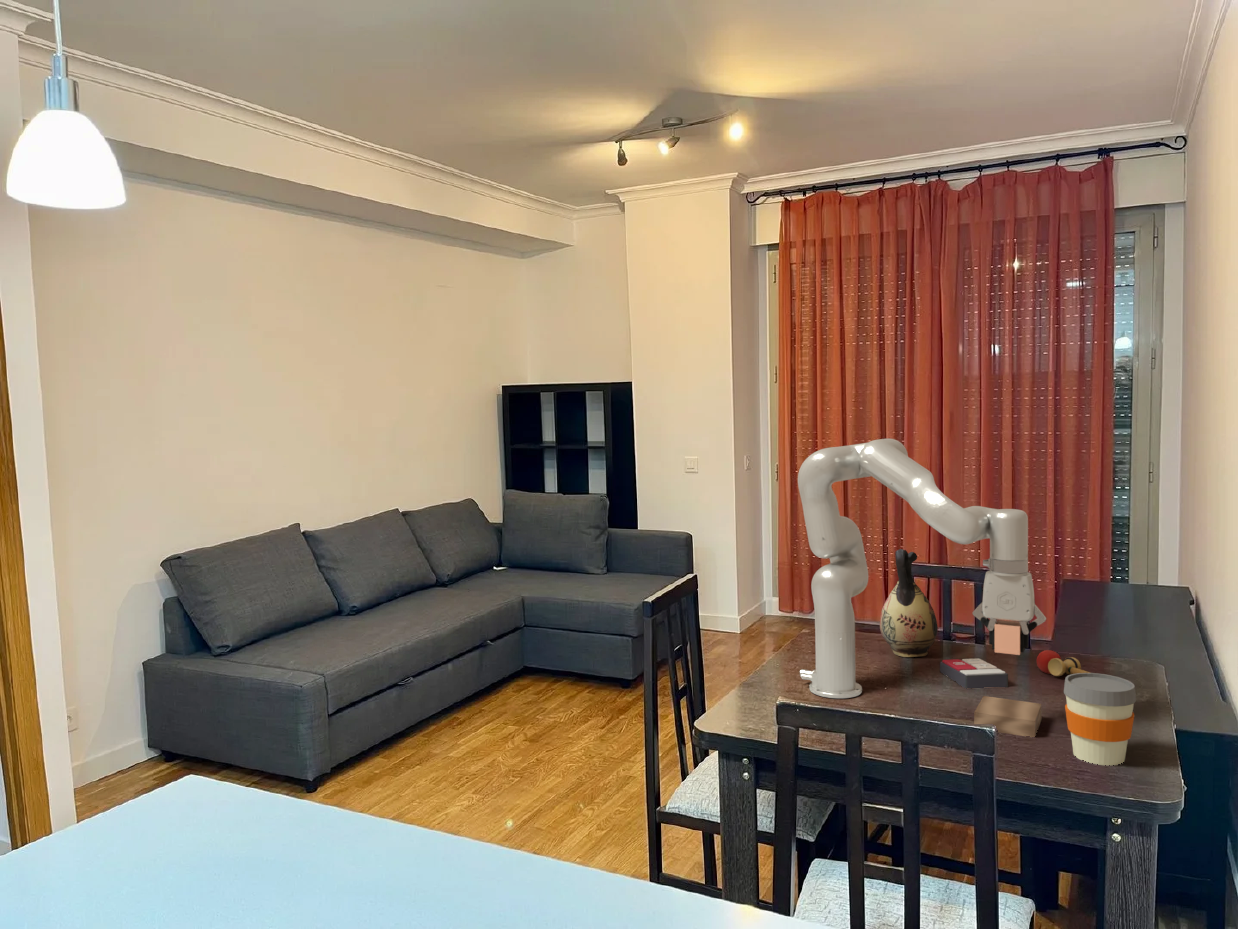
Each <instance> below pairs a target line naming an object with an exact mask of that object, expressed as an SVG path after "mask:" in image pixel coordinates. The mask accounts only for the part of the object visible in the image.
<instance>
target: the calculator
mask: <svg viewBox="0 0 1238 929" xmlns="http://www.w3.org/2000/svg"><path fill="white" fill-rule="evenodd" d="M939 672H940V673H941V674H943V675H944V676H946V675H947V676H948V677H949V679H950V680H952V681H954V682H955V681H956V683H957V685H959V686H960V685H961V686H962V688H963V687H964V688H966V689H965V690H968V689H967V688H984V687H1005V688H1009V674H1008V673H1006V671H1004V670H1002V669H1000V668H998V667H997V666H996V665H993V664H991V663H989V662H987V661H985V660H983V659H981V658H975V657H974V658H962V659H956V658H955V659H942V660H941V661H940V662H939ZM947 676H946V677H947ZM948 677H947V678H948ZM961 686H960V687H961ZM964 688H963V689H964Z"/></svg>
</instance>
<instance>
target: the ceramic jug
mask: <svg viewBox="0 0 1238 929" xmlns="http://www.w3.org/2000/svg"><path fill="white" fill-rule="evenodd" d="M894 554H895V557H894V558H895V565H896V572H897V573H896V574H897V576H898V580H897V583H896V584H895V586H894V587H893V589H892V590H891V591H890V592H889V594H888V597H887V598H886V600H885V601H884V604H883V607H882V609H881V612H880V617H879V629H880V630H879V631H880V634H881V635H882V638H883V639H884V641H885V642H886V643H887V644H888V646H889V647H890V648H891V651H892V653H893V654H894V655H896V656H899V657H903V658H914V657H915V658H917V657H926V656H927V655H929V651H928V650H929V649H930V648H931V646H932V645H933V644H934V642H935V640H936V638H937V635H938V629H939V626H938V621H937V616H936V614H935V611H934V608H933V606H932V605H931V603H930V600H928V598H927V596H926V595H925V594H924V592H923V591H922V590H921V588H920V586H919V585H917V584H916V582H915V579H914V578H913V575H912V566H913V565H912V564H913V563H914V562H915V561H917V559H918V555H917V553H915V551H910V552H908V550H906V549H902V548H899V549H897V550H895V553H894Z"/></svg>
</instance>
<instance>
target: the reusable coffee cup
mask: <svg viewBox="0 0 1238 929" xmlns="http://www.w3.org/2000/svg"><path fill="white" fill-rule="evenodd" d="M1064 678H1065V679H1064V685H1063V686H1064V687H1063V694H1064V695H1065V698H1066V699H1065V700H1066V703H1065V705H1064V709H1065V718H1066V725H1067V730H1068V731H1069V732H1070V737H1071V745H1072V754H1073V756H1074V757H1075V756H1076V757H1075V758H1077V759H1078V760H1080V761H1082V760H1084V761H1083V762H1085V761H1086V762H1085V763H1088V762H1089V763H1088V764H1092V763H1093V764H1092V765H1097V764H1098V766H1105V765H1106V766H1109V765H1110V766H1113V765H1114V766H1118V764H1120V765H1122V764H1124V763H1125V761H1126V754H1127V747H1128V744H1129V743H1128V742H1129V739H1131V738H1132V732H1133V726H1134V721H1135V713H1134V711H1133V710H1134V706H1135V705H1134V704H1135V703H1136V702H1137V693H1136V686H1135V684H1134V683H1133V682H1132V681H1131V680H1128V679H1125V678H1123V677H1119V676H1115V675H1110V674H1105V673H1098V672H1096V673H1095V672H1090V673H1076V674H1071V675H1066V676H1065V677H1064ZM1123 762H1124V763H1123ZM1121 763H1122V764H1121Z"/></svg>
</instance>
